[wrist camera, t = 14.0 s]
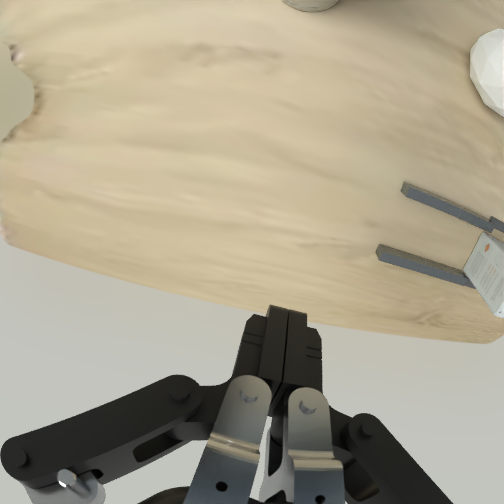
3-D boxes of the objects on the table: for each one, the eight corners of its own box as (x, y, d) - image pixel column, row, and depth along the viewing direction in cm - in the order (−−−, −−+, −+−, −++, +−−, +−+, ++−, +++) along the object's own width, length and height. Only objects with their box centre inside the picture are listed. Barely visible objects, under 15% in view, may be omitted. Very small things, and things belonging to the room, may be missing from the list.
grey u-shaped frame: (404, 181, 38) (409, 186, 36) (487, 219, 38) (494, 225, 35) (375, 252, 44) (378, 260, 42) (458, 277, 44) (463, 285, 41)
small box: (482, 278, 43) (514, 322, 31) (461, 269, 43) (493, 316, 32) (503, 241, 39) (541, 281, 27) (482, 230, 39) (522, 270, 27)
